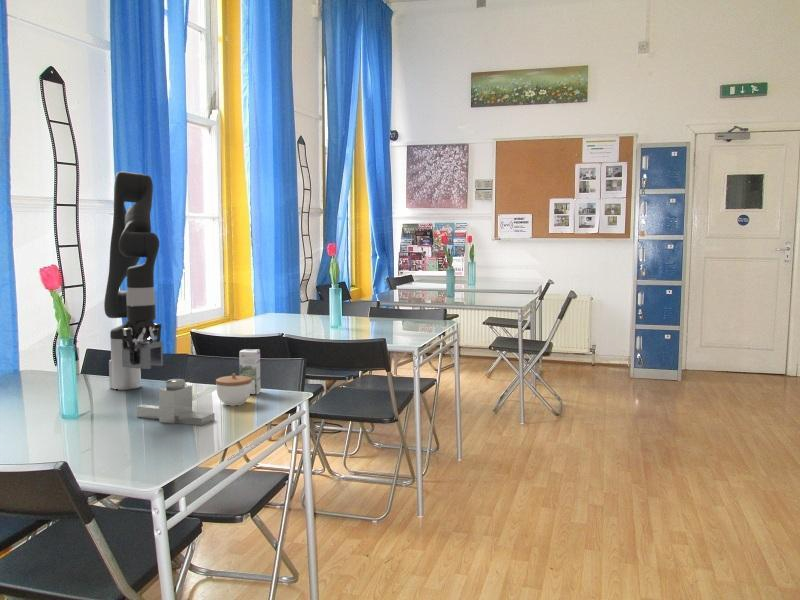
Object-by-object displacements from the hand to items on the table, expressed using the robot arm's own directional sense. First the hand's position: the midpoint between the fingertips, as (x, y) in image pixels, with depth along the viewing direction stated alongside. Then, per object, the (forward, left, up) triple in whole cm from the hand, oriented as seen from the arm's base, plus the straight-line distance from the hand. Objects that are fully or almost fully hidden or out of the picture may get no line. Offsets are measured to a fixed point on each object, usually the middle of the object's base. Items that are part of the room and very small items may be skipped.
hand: (142, 362), depth 191 cm
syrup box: (+12, +36, -16) cm, 41 cm away
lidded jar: (+15, +22, -16) cm, 31 cm away
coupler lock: (0, 0, -1) cm, 1 cm away
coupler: (+10, 0, -16) cm, 19 cm away
